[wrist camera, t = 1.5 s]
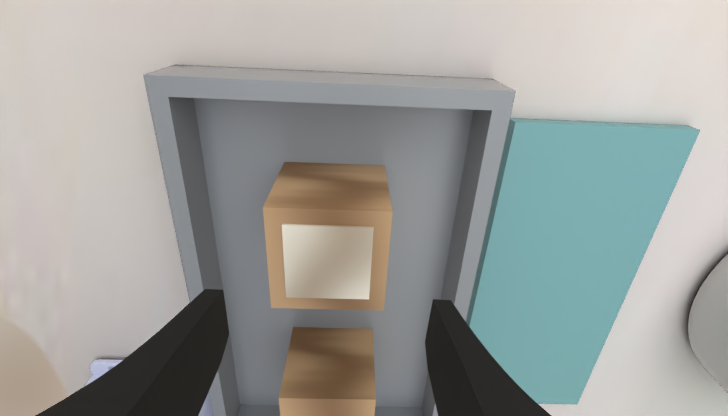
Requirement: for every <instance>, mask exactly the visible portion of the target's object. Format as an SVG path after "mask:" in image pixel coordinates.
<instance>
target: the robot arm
mask: <svg viewBox="0 0 728 416" xmlns="http://www.w3.org/2000/svg"><path fill="white" fill-rule="evenodd" d="M228 337H229V328H228V320H227V313H226V306H225V299H224V291H223V290H219V289H205V290H203V291H202V292H201V293H200V294H199V295H198V296H197V297H196V298H195V299H193V300H192V301H191V302H190V303H189V304H188V305H187V306H186V307H185V308H184V309H183V310H182V311H181V312H180V313H178V314H177V315H176V316H175V317H174V318H173V319H172V320H171V321H170V322H169V323H167V324H166V325H165V326H164V327H163V328H162V329H161V330H160V331H158V332H157V333H156V334H155V335H154V336H153V337H151V338H150V339H149V340H148V341H147V342H145V343H144V344H143V345H142V346H140V347H139V348H138V349H137V350H136V351H134V352H133V353H132V354H131V355H129V356H128V357H127V358H125V359H124V360H108V359H98V360H94V361H93V362H92V364H91V365H90V369H91V372H92V376H91V378H90V379H89V380H88V382H87V383H86V385H85V386H84V387H83V388H81V389H80V390H78V391H77V392H75V393H73V394H72V395H70V396H69V397H67V398H65V399H64V400H62V401H61V402H59V403H57V404H55V405H54V406H52V407H50V408H48V409H47V410H45V411H43V412H41V413H39V414H38V415H36V416H213V412H212V407H211V402H210V398H209V393H208V392H209V390H210V387H211V385H212V383H213V380H214V378H215V376H216V373H217V371H218V369H219V366H220V364H221V361H222V358H223V354H224V351H225V347H226V344H227V340H228ZM425 349H426V358H427V367H428V373H429V378H430V382H431V386H432V391H433V395H434V400H435V404H436V408H437V413H438V416H551V415H550V414H549V413H548V412H546V411H545V410H544V409H543V408H542V407H541V406H539V405H538V404H537V403H536V402H535V401H534V400H533V399H532V398H531V397H530V396H529V395H528V394H527V393H526V392H525V391H524V390H523V389H522V388H521V387H520V386H519V385H518V384H517V383H516V382H515V381H514V380H513V379H512V378H511V377H510V376H509V375H508V374H507V373H506V372H505V371H504V369H503V368H502V367H501V366H500V365H499V364H498V362H497V361H496V360H495V359H494V358H493V357H492V355H491V354H490V353H489V352H488V350H487V349H486V348H485V347H484V345H483V344H482V343H481V341H480V340H479V339H478V338H477V336H476V335H475V334H474V332H473V331H472V330H471V328H470V327H469V325H468V324H467V323H466V321H465V320H464V318H463V317H462V316H461V314H460V313H459V311H458V310H457V308H456V307H455V305H454V304H453V303H452V301H451V300H438V299H433V301H432V307H431V312H430V317H429V322H428V328H427V333H426V338H425ZM235 373H236V371H235ZM236 380H237V378H236ZM237 386H238V384H237ZM238 393H239V391H238ZM239 399H240V397H239ZM240 405H241V404H240Z"/></svg>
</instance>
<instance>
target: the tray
mask: <svg viewBox="0 0 728 416" xmlns="http://www.w3.org/2000/svg"><path fill="white" fill-rule="evenodd" d="M143 76H144V81H145V86H146V91H147V96H148V100H149V105H150V110H151V115H152V120H153V125H154V130H155V135H156V139H157V144H158V149H159V154H160V159H161V164H162V169H163V173H164V178H165V183H166V188H167V193H168V198H169V203H170V208H171V212H172V217H173V222H174V227H175V232H176V237H177V242H178V247H179V251H180V256H181V261H182V266H183V271H184V276H185V281H186V286H187V290H188V295H189V300H190V302H191V301H192V300H193V299H195V298H196V297H197V296H198V295H199V294H200V293H201V292H202V291H203V290H205V289H219V290H223V291H224V299H225V306H226V313H227V320H228V328H229V337H228V340H227V344H226V347H225V351H224V354H223V358H222V361H221V364H220V366H219V369H218V371H217V373H216V376H215V378H214V380H213V383H212V385H211V387H210V390H209V392H208V393H209V398H210V402H211V407H212V412H213V416H280V408H279V394H280V389H281V384H282V379H283V374H284V369H285V364H286V359H287V354H288V349H289V344H290V339H291V334H292V329H293V327H316V328H362V329H373V349H374V370H375V391H376V404H375V416H438V413H437V408H436V404H435V400H434V395H433V391H432V386H431V382H430V378H429V373H428V367H427V358H426V349H425V338H426V333H427V328H428V322H429V317H430V312H431V307H432V301H433V299H438V300H451V301H452V303H453V304H454V305H455V307H456V308H457V310H458V311H459V313H460V314H461V316H462V317H463V318H464V320H465V321H466V318H467V313H468V308H469V304H470V299H471V295H472V290H473V286H474V281H475V276H476V272H477V267H478V263H479V258H480V253H481V249H482V244H483V240H484V235H485V230H486V226H487V221H488V217H489V212H490V208H491V203H492V198H493V194H494V189H495V185H496V180H497V175H498V171H499V166H500V162H501V157H502V152H503V148H504V143H505V139H506V134H507V130H508V125H509V120H510V116H511V111H512V107H513V102H514V97H515V93H516V91H515V90H513V89H511V88H509V87H507V86H505V85H503V84H501V83H499V82H497V81H495V80H494V79H482V78H460V77H438V76H415V75H393V74H371V73H349V72H326V71H304V70H282V69H259V68H237V67H215V66H193V65H173V66H170V67H167V68H163V69H160V70H157V71H154V72H151V73H147V74H144V75H143ZM284 162H307V163H334V164H362V165H385V171H386V177H387V182H388V188H389V194H390V199H391V205H392V211H393V213H392V225H391V236H390V247H389V258H388V269H387V281H386V292H385V303H384V311H379V310H336V309H294V308H271V300H270V288H269V276H268V264H267V252H266V240H265V228H264V216H263V206H264V204H265V202H266V200H267V198H268V195H269V193H270V191H271V189H272V187H273V185H274V183H275V181H276V179H277V176H278V174H279V172H280V170H281V168H282V166H283V164H284ZM235 371H236V373H235ZM236 378H237V380H236ZM237 384H238V386H237ZM238 391H239V393H238ZM239 397H240V399H239ZM240 404H241V405H240Z"/></svg>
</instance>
